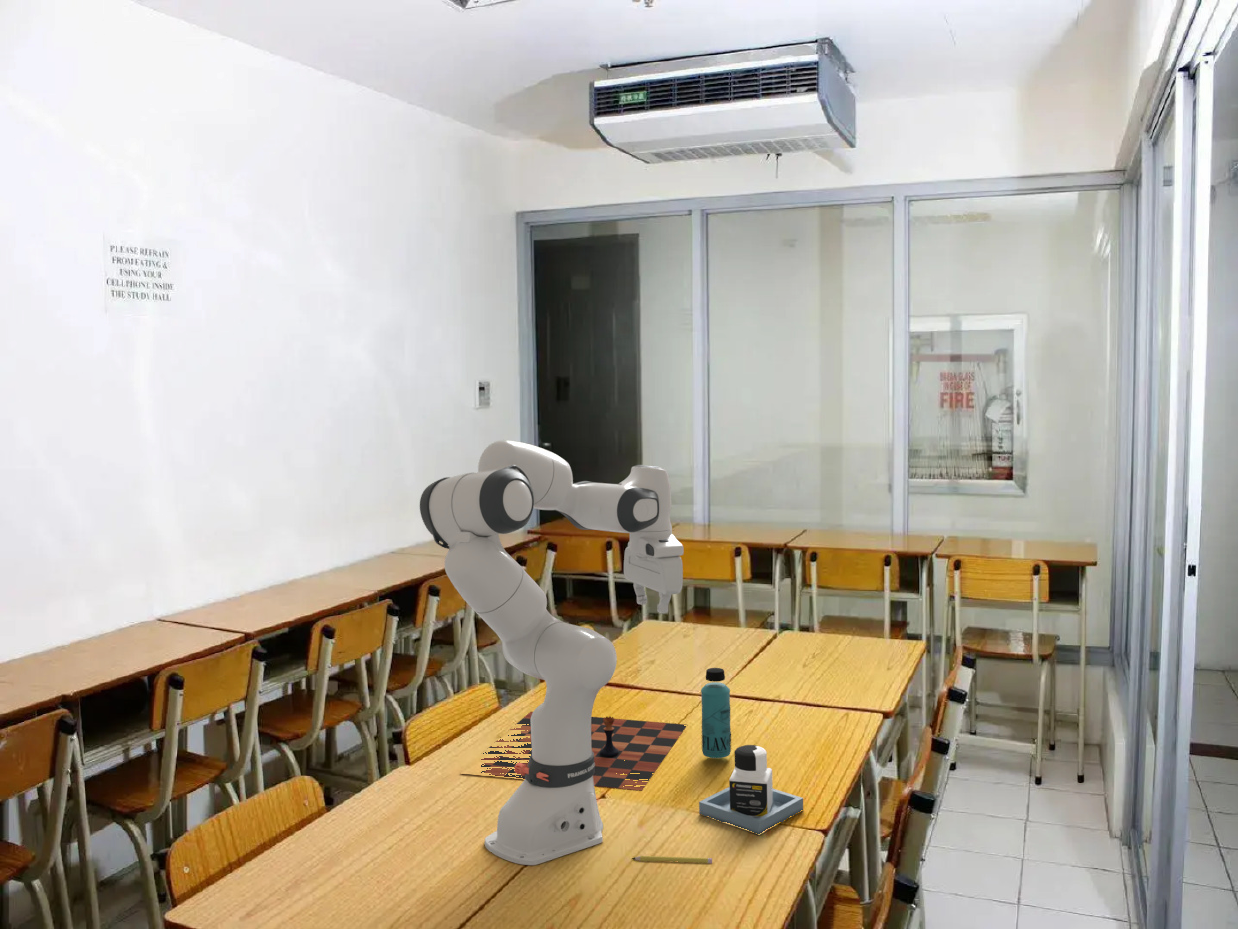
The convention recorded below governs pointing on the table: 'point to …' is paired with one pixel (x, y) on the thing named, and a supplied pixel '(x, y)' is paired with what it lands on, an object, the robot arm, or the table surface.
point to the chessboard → (609, 750)
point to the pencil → (673, 859)
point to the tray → (779, 812)
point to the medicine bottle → (751, 782)
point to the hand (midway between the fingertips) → (652, 608)
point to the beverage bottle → (716, 716)
